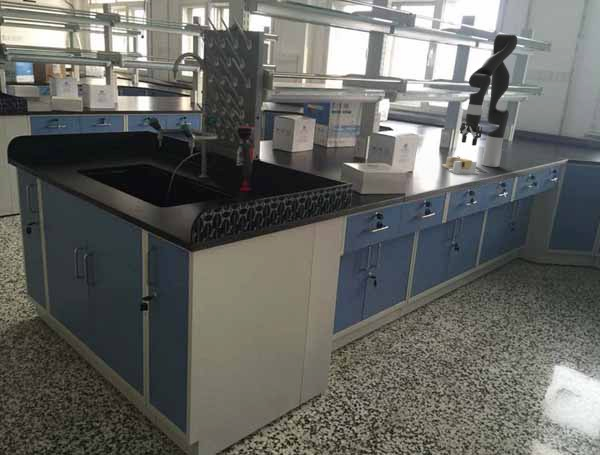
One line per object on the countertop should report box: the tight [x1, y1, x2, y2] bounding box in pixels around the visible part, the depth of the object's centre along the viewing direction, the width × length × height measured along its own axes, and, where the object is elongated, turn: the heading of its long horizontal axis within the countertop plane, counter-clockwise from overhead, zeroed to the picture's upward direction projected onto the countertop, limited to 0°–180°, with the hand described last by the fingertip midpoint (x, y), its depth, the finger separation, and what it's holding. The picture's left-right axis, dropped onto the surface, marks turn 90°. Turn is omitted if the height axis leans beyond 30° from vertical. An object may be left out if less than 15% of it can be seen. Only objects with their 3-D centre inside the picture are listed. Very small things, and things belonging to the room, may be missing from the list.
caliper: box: [457, 155, 490, 174], centre depth 296 cm, size 20×1×6 cm, turn 52°
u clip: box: [459, 157, 473, 168], centre depth 284 cm, size 4×6×4 cm
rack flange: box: [448, 160, 480, 175], centre depth 285 cm, size 14×8×6 cm, turn 111°
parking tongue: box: [441, 156, 460, 170], centre depth 296 cm, size 8×8×6 cm
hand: (468, 143), depth 281 cm, fingers open, 8 cm apart
